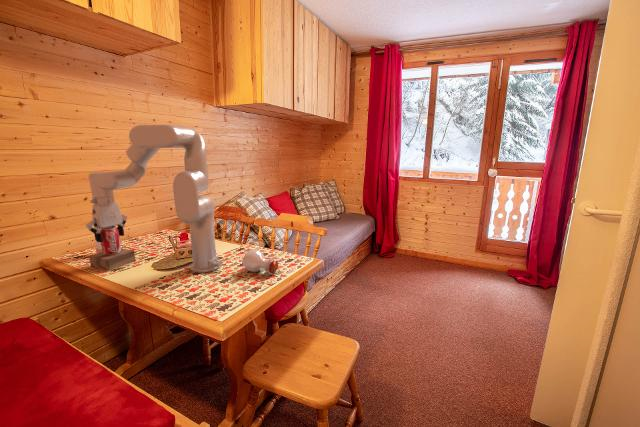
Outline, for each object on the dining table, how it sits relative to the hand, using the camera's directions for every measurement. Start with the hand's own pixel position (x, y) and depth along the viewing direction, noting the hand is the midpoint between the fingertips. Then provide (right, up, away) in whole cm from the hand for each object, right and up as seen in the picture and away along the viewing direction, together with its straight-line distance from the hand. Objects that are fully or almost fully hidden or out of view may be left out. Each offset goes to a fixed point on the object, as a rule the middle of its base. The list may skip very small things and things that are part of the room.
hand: (110, 238), depth 132 cm
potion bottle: (+68, -14, -7) cm, 70 cm away
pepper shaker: (-14, -9, +16) cm, 23 cm away
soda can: (0, -7, +2) cm, 7 cm away
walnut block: (0, -12, +3) cm, 12 cm away
